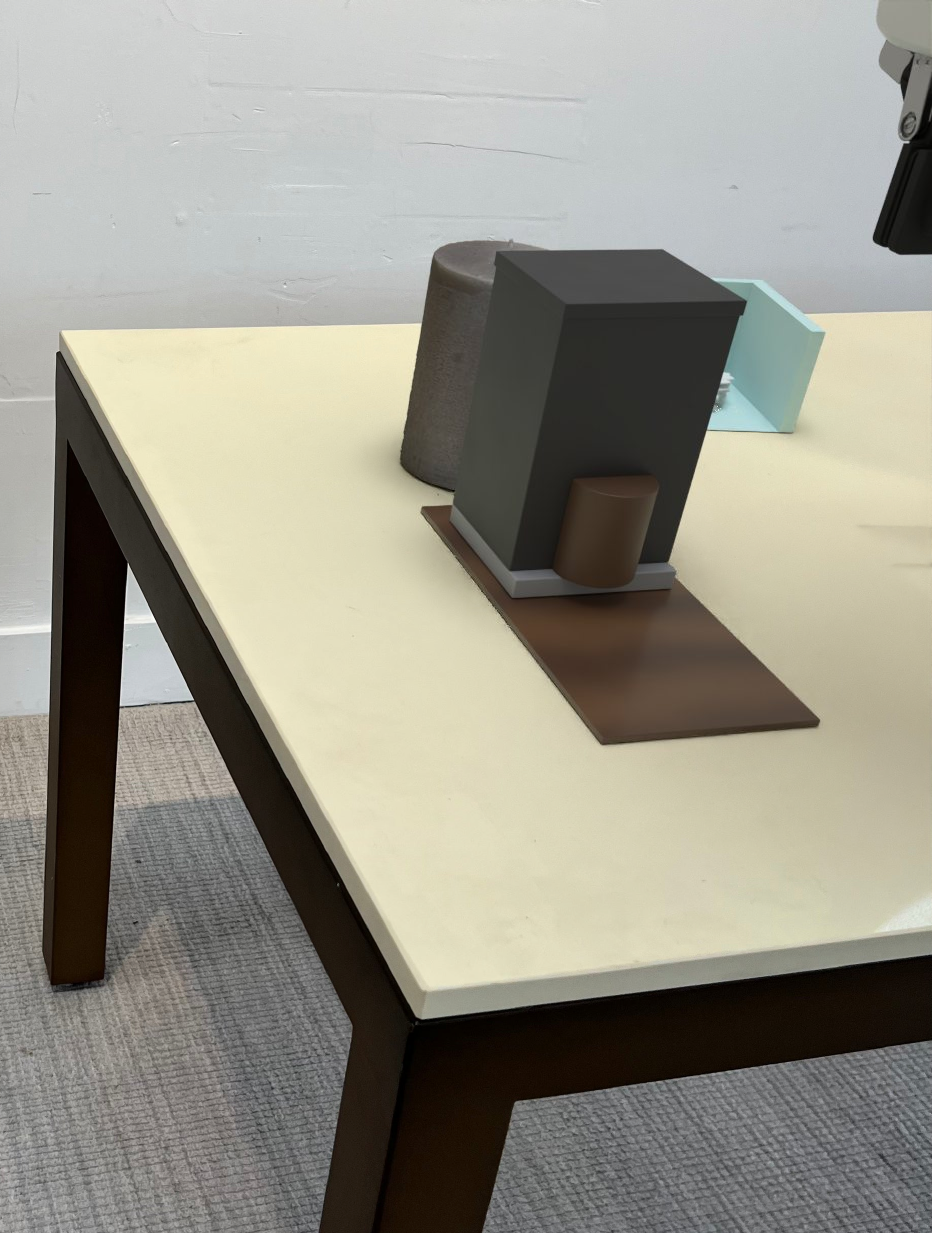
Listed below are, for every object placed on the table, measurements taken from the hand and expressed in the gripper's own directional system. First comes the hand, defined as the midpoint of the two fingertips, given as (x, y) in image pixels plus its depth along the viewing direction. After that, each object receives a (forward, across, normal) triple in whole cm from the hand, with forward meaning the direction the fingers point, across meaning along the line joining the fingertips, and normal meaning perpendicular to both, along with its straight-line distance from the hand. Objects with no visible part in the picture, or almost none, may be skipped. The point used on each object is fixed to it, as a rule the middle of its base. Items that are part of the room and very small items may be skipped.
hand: (914, 248), depth 59 cm
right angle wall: (+23, +41, -18) cm, 50 cm away
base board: (+23, +11, +4) cm, 26 cm away
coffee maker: (+23, +16, +4) cm, 29 cm away
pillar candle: (+23, +30, +4) cm, 38 cm away
